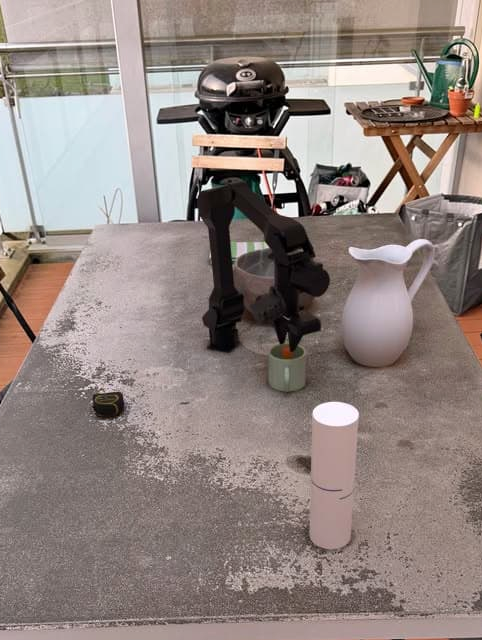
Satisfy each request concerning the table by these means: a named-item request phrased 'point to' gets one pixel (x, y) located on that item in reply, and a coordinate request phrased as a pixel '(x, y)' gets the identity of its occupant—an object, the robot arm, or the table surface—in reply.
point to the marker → (287, 353)
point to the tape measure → (108, 403)
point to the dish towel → (243, 249)
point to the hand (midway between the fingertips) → (287, 347)
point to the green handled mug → (286, 368)
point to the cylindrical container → (332, 473)
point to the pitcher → (382, 303)
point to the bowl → (259, 276)
